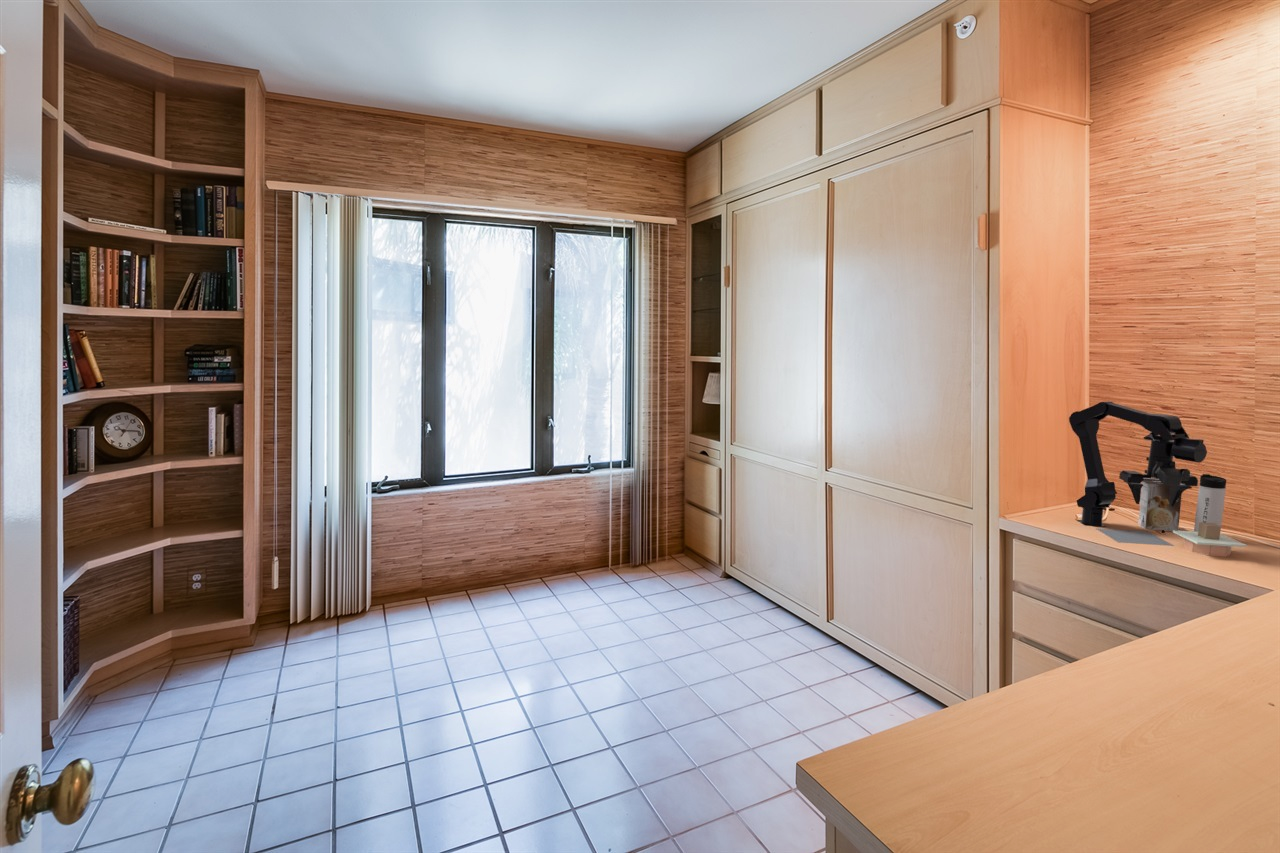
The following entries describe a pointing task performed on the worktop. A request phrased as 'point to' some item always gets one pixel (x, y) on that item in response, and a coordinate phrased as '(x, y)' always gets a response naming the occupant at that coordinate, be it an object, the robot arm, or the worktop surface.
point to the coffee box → (1158, 507)
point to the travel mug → (1210, 500)
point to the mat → (1134, 537)
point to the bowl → (1208, 549)
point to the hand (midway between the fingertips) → (1154, 505)
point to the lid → (1209, 536)
